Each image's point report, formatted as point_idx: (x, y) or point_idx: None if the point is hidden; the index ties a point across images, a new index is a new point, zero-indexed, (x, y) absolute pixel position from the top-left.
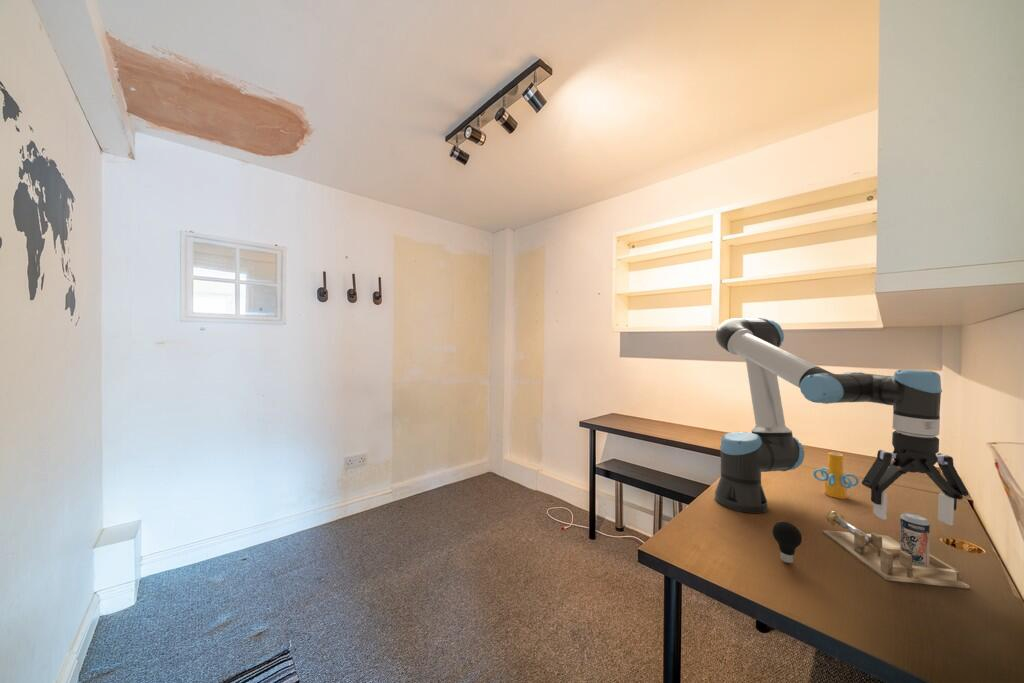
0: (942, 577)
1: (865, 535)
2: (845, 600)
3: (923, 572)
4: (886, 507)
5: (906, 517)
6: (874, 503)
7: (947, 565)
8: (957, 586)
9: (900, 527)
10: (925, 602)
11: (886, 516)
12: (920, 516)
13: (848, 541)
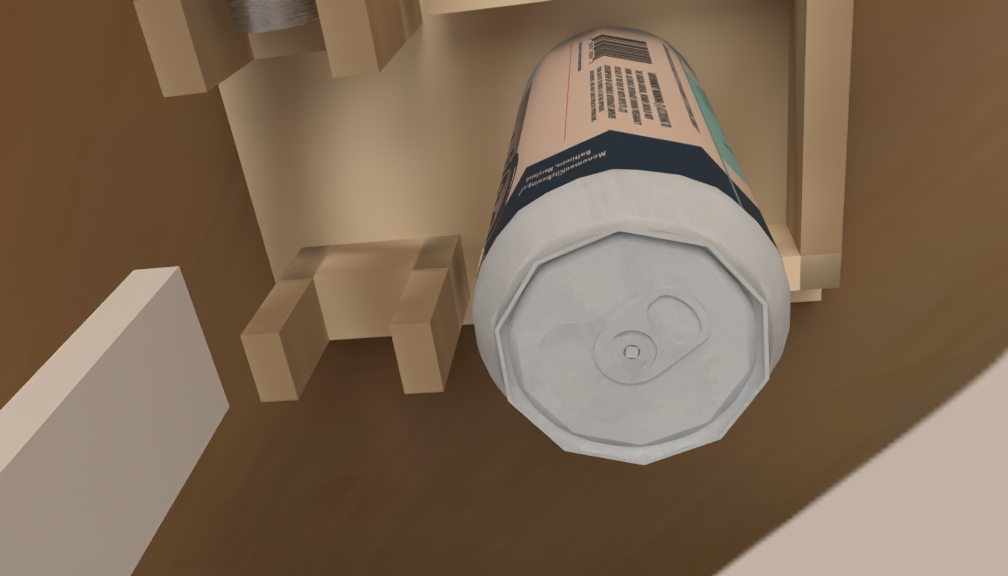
0: None
1: (249, 13)
2: None
3: None
4: (148, 537)
5: (501, 369)
6: (42, 380)
7: (818, 201)
8: None
9: (523, 162)
10: (400, 485)
11: (210, 437)
12: (753, 302)
13: None
